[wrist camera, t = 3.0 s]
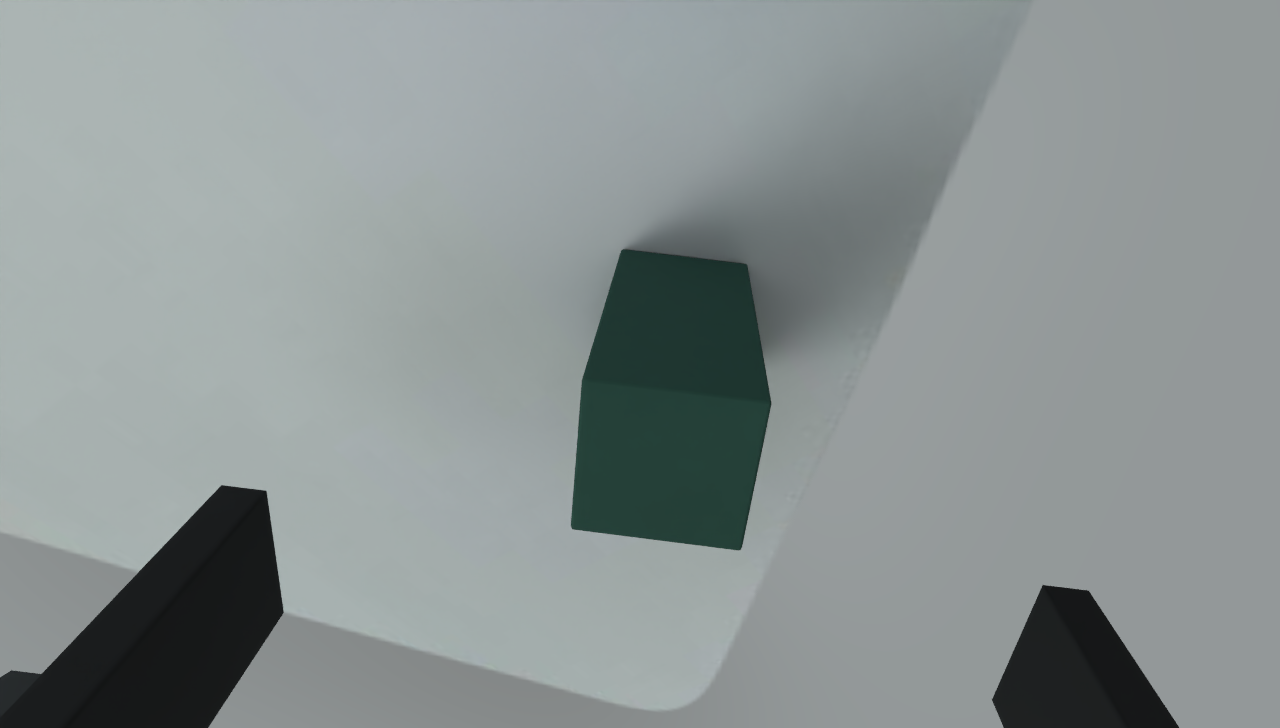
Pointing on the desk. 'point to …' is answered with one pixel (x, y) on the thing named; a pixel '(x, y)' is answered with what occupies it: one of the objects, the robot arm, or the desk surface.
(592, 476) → the green block
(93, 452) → the desk surface
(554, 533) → the desk surface
